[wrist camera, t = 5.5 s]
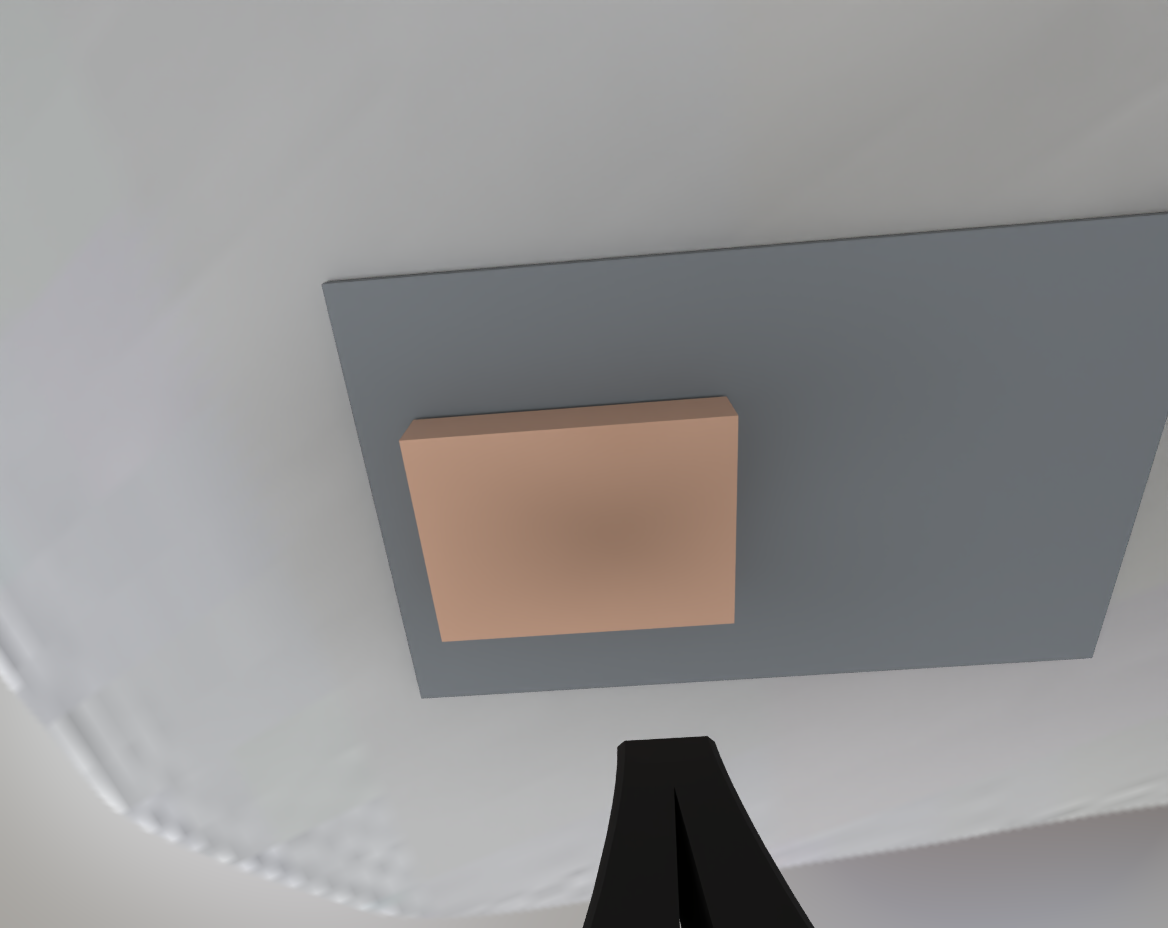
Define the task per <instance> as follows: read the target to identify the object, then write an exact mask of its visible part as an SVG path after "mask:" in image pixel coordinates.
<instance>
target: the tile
mask: <svg viewBox="0 0 1168 928" xmlns="http://www.w3.org/2000/svg"><path fill="white" fill-rule="evenodd" d="M399 443H400V448H401V452H402V457H403V462H404V466H405V471H406V476H407V480H408V485H409V490H410V494H411V499H412V504H413V508H414V513H415V518H416V522H417V527H418V532H419V536H420V541H421V546H422V550H423V555H424V560H425V564H426V569H427V574H428V578H429V583H430V588H431V593H432V597H433V602H434V607H435V611H436V616H437V621H438V625H439V630H440V635H441V639H442V642H448V641H463V640H479V639H495V638H511V637H527V636H542V635H558V634H574V633H590V632H606V631H621V630H637V629H653V628H669V627H685V626H700V625H716V624H732V623H734V614H735V564H736V513H737V463H738V414H737V412H736V411H735V409H734V408H733V406H732V404H731V403H730V401H729V400H728V398H727V396H724V397H711V398H697V399H684V400H671V401H657V402H644V403H631V404H618V405H604V406H591V407H578V408H564V409H551V410H538V411H525V412H511V413H498V414H485V415H471V416H458V417H445V418H431V419H418V420H413V421H412V422H411V424H410V425H409V427H408V428H407V430H406V431H405V433H404V434H403V436H402V437H401V439H400V440H399Z"/></svg>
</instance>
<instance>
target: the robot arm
mask: <svg viewBox="0 0 1168 928" xmlns="http://www.w3.org/2000/svg"><path fill="white" fill-rule="evenodd" d="M679 918H680V920H679ZM679 922H680V923H681V928H814V926H813V925H812V923H811V922H810V920H809V919H808V917H807V915H806V914H805V912H804V910H803V909H802V907H801V906H800V904H799V902H798V901H797V899H796V898H795V896H794V894H793V893H792V891H791V889H790V888H789V886H788V884H787V883H786V881H785V879H784V877H783V876H782V874H781V872H780V871H779V869H778V867H777V865H776V864H775V862H774V860H773V859H772V857H771V855H770V854H769V852H768V850H767V848H766V847H765V845H764V843H763V841H762V840H761V838H760V836H759V834H758V832H757V831H756V829H755V827H754V825H753V823H752V821H751V819H750V817H749V815H748V814H747V812H746V810H745V808H744V806H743V804H742V802H741V800H740V798H739V796H738V794H737V792H736V790H735V788H734V786H733V784H732V782H731V780H730V777H729V775H728V773H727V771H726V769H725V766H724V764H723V762H722V759H721V757H720V754H719V752H718V749H717V747H716V744H715V742H714V741H713V740H712V739H710V738H709V737H708V736H702V737H684V738H667V739H649V740H631V741H624V742H623V743H622V744H620V745H619V746H618V747H617V772H616V783H615V790H614V797H613V804H612V809H611V815H610V820H609V825H608V831H607V836H606V840H605V844H604V848H603V853H602V857H601V861H600V865H599V869H598V874H597V878H596V882H595V886H594V890H593V894H592V898H591V901H590V905H589V908H588V912H587V915H586V919H585V922H584V925H583V928H680V923H679Z"/></svg>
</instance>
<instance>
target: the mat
mask: <svg viewBox="0 0 1168 928" xmlns="http://www.w3.org/2000/svg"><path fill="white" fill-rule="evenodd" d="M322 289H323V293H324V297H325V301H326V305H327V309H328V313H329V318H330V322H331V326H332V330H333V334H334V338H335V342H336V347H337V351H338V355H339V359H340V363H341V367H342V371H343V376H344V380H345V384H346V388H347V392H348V396H349V400H350V405H351V409H352V413H353V417H354V421H355V425H356V429H357V433H358V438H359V442H360V446H361V450H362V454H363V458H364V462H365V467H366V471H367V475H368V479H369V483H370V487H371V491H372V496H373V500H374V504H375V508H376V512H377V516H378V520H379V525H380V529H381V533H382V537H383V541H384V545H385V549H386V554H387V558H388V562H389V566H390V570H391V574H392V578H393V583H394V587H395V591H396V595H397V599H398V603H399V607H400V612H401V616H402V620H403V624H404V628H405V632H406V636H407V641H408V645H409V649H410V653H411V657H412V661H413V665H414V669H415V674H416V678H417V682H418V686H419V690H420V694H421V698H438V697H455V696H471V695H488V694H505V693H521V692H538V691H554V690H571V689H588V688H604V687H621V686H637V685H654V684H670V683H687V682H704V681H720V680H737V679H753V678H770V677H786V676H803V675H820V674H836V673H853V672H869V671H886V670H902V669H919V668H936V667H952V666H969V665H985V664H1002V663H1019V662H1035V661H1052V660H1068V659H1085V658H1092V657H1093V654H1094V650H1095V647H1096V644H1097V641H1098V637H1099V634H1100V631H1101V628H1102V625H1103V621H1104V618H1105V615H1106V612H1107V609H1108V605H1109V602H1110V599H1111V596H1112V592H1113V589H1114V586H1115V583H1116V580H1117V576H1118V573H1119V570H1120V567H1121V563H1122V560H1123V557H1124V554H1125V551H1126V547H1127V544H1128V541H1129V538H1130V535H1131V531H1132V528H1133V525H1134V522H1135V518H1136V515H1137V512H1138V509H1139V506H1140V502H1141V499H1142V496H1143V493H1144V489H1145V486H1146V483H1147V480H1148V477H1149V473H1150V470H1151V467H1152V464H1153V461H1154V457H1155V454H1156V451H1157V448H1158V444H1159V441H1160V438H1161V435H1162V432H1163V428H1164V425H1165V422H1166V419H1167V415H1168V212H1160V213H1148V214H1136V215H1124V216H1112V217H1100V218H1088V219H1076V220H1064V221H1052V222H1040V223H1028V224H1015V225H1003V226H991V227H979V228H967V229H955V230H943V231H931V232H919V233H907V234H895V235H883V236H871V237H859V238H847V239H835V240H823V241H811V242H799V243H786V244H774V245H762V246H750V247H738V248H726V249H714V250H702V251H690V252H678V253H666V254H654V255H642V256H630V257H618V258H606V259H594V260H582V261H569V262H557V263H545V264H533V265H521V266H509V267H497V268H485V269H473V270H461V271H449V272H437V273H425V274H413V275H401V276H389V277H377V278H365V279H353V280H340V281H328V282H325V283H323V284H322ZM724 396H727V398H728V400H729V401H730V403H731V404H732V406H733V408H734V409H735V411H736V412H737V414H738V463H737V513H736V564H735V614H734V623H732V624H716V625H700V626H685V627H669V628H653V629H637V630H621V631H606V632H590V633H574V634H558V635H542V636H527V637H511V638H495V639H479V640H463V641H448V642H442V639H441V635H440V630H439V625H438V621H437V616H436V611H435V607H434V602H433V597H432V593H431V588H430V583H429V578H428V574H427V569H426V564H425V560H424V555H423V550H422V546H421V541H420V536H419V532H418V527H417V522H416V518H415V513H414V508H413V504H412V499H411V494H410V490H409V485H408V480H407V476H406V471H405V466H404V462H403V457H402V452H401V448H400V443H399V440H400V439H401V437H402V436H403V434H404V433H405V431H406V430H407V428H408V427H409V425H410V424H411V422H412V421H413V420H418V419H431V418H445V417H458V416H471V415H485V414H498V413H511V412H525V411H538V410H551V409H564V408H578V407H591V406H604V405H618V404H631V403H644V402H657V401H671V400H684V399H697V398H711V397H724Z"/></svg>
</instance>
